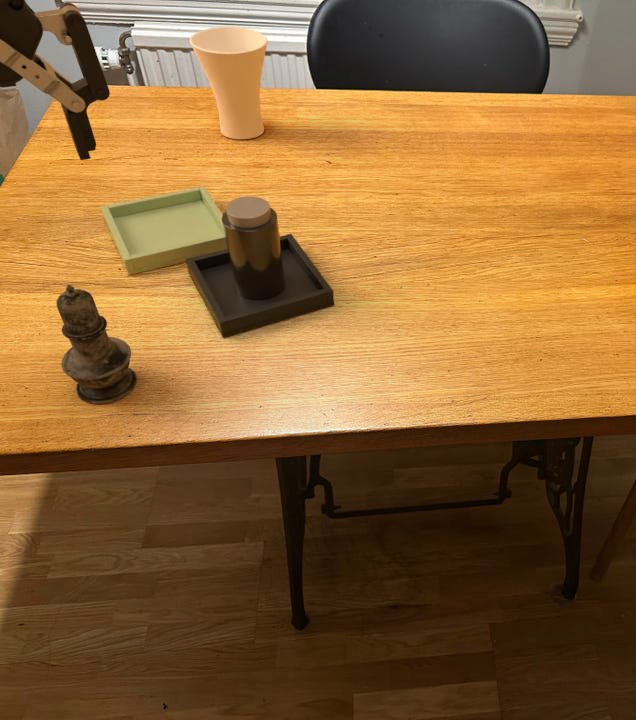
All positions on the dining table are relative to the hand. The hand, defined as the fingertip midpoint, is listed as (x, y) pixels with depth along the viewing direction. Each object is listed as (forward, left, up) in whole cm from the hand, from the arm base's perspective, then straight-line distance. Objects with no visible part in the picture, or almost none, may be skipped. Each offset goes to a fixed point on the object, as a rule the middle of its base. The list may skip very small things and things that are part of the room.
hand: (21, 165), depth 51 cm
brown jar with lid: (+18, +8, -22) cm, 30 cm away
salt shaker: (0, 0, -23) cm, 23 cm away
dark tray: (+18, +8, -23) cm, 30 cm away
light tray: (+12, +23, -23) cm, 35 cm away
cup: (+29, +47, -23) cm, 60 cm away
